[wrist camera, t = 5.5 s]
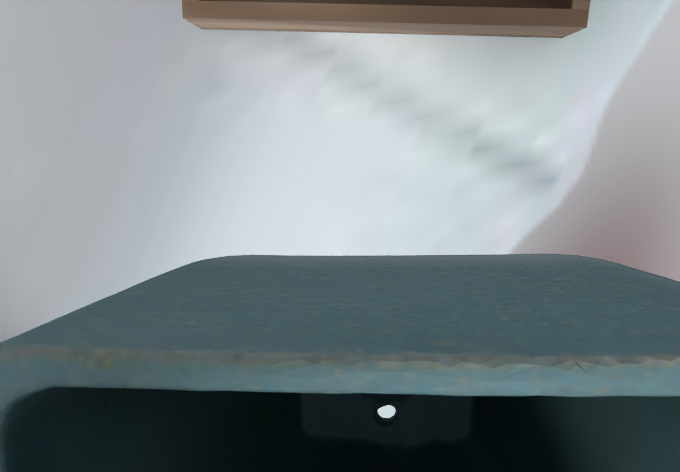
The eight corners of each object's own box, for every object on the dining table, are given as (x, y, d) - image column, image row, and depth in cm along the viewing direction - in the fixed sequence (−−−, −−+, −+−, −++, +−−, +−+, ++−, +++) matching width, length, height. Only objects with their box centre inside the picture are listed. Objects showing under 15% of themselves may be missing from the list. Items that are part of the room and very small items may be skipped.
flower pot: (236, 493, 15) (63, 997, 6) (213, 201, 13) (-76, 354, 5) (534, 496, 15) (785, 1040, 6) (555, 195, 13) (968, 353, 4)
